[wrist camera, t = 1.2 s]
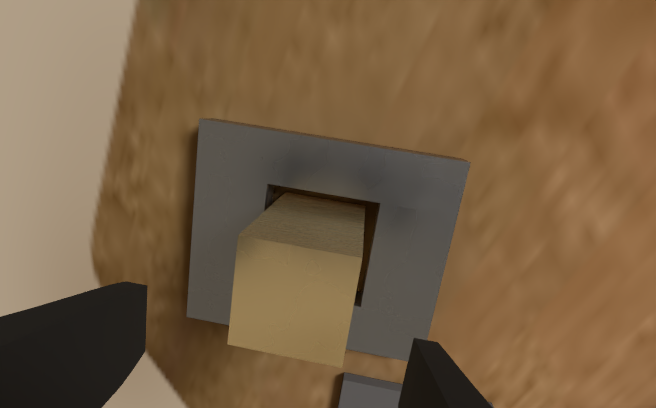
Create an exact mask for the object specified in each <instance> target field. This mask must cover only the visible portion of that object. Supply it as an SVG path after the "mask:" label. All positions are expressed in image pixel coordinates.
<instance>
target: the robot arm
mask: <svg viewBox="0 0 656 408" xmlns="http://www.w3.org/2000/svg"><path fill="white" fill-rule="evenodd" d="M146 310H147V286H146V285H141V284H136V283H131V282H121V283H116V284H112V285H108V286H105V287H101V288H97V289H94V290H91V291H87V292H84V293H81V294H77V295H74V296H71V297H68V298H64V299H61V300H57V301H54V302H51V303H48V304H44V305H41V306H38V307H34V308H31V309H27V310H24V311H20V312H16V313H13V314H9V315H6V316H2V317H0V408H102V407H103V405H104V404H105V403H106V402H107V401H108V400H109V399H110V398H111V396H112V395H113V394H114V393H115V392H116V391H117V390H118V388H119V387H120V386H121V385H122V384H123V382H124V381H125V380H126V378H127V377H128V376H129V374H130V373H131V371H132V370H133V369H134V367H135V366H136V364H137V363H138V361H139V360H140V358H141V357H142V355H143V354H144V352H145V339H146ZM398 408H493V407H492V406H491V405H490V404H489V403H488V402H487V401H486V399H485V398H484V397H483V396H482V395H481V394H480V393H479V391H478V390H477V389H476V388H475V387H474V385H473V384H472V383H471V382H470V381H469V380H468V378H467V377H466V376H465V375H464V373H463V372H462V371H461V370H460V369H459V367H458V366H457V365H456V364H455V362H454V361H453V360H452V359H451V358H450V356H449V355H448V354H447V353H446V351H445V350H444V349H443V348H442V347H441V346H440V344H439V343H438V342H433V341H428V340H423V339H418V338H414V339H413V343H412V347H411V352H410V356H409V360H408V364H407V369H406V373H405V377H404V381H403V386H402V390H401V394H400V399H399V403H398Z"/></svg>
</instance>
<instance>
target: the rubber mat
mask: <svg viewBox="0 0 656 408" xmlns="http://www.w3.org/2000/svg"><path fill="white" fill-rule="evenodd" d="M402 386H403V384H398V383H393V382H388V381H383V380H378V379H374V378H369V377H364V376H359V375H354V374H349V373H344V377H343V382H342V388H341V393H340V398H339V404H338V408H398V403H399V399H400V394H401V390H402ZM488 403H489V404H490V405H491V406H492V407H493V405H492V403H490V402H488ZM493 408H494V407H493Z"/></svg>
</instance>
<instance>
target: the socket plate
mask: <svg viewBox="0 0 656 408" xmlns="http://www.w3.org/2000/svg"><path fill="white" fill-rule="evenodd" d="M469 167H470V162H468V161H466V160H464V159H461V158H455V157H449V156H443V155H436V154H430V153H424V152H418V151H412V150H405V149H399V148H393V147H387V146H381V145H374V144H368V143H362V142H356V141H350V140H343V139H337V138H331V137H325V136H318V135H312V134H306V133H300V132H294V131H287V130H281V129H275V128H269V127H263V126H256V125H250V124H244V123H238V122H232V121H225V120H219V119H199V131H198V146H197V162H196V177H195V193H194V208H193V224H192V239H191V255H190V270H189V286H188V301H187V317H190V318H195V319H200V320H205V321H210V322H215V323H220V324H225V325H229V323H230V313H231V302H232V292H233V282H234V271H235V261H236V251H237V240H238V235H239V234H240V233H241V232H242V231H243V230H244V229H245V228H247V227H248V226H249V225H250V224H251V223H252V222H253V221H254V220H255V219H257V218H258V217H259V216H260V215H261V214H262V213H263V212H264V211H265V210H266V209H268V208H269V207H270V206H271V205H272V203H273V194H274V186H275V185H278V186H284V187H290V188H295V189H301V190H307V191H313V192H319V193H324V194H330V195H336V196H342V197H348V198H353V199H359V200H365V201H371V202H377V203H378V208H377V213H376V218H375V224H374V229H373V234H372V239H371V245H370V250H369V255H368V260H367V266H366V271H365V276H364V281H363V287H362V292H361V293H360V292H356V296H355V301H354V306H353V312H352V317H351V322H350V328H349V333H348V339H347V344H346V349H349V350H354V351H359V352H364V353H369V354H374V355H379V356H384V357H389V358H394V359H399V360H404V361H408V360H409V356H410V352H411V347H412V343H413V339H414V338H418V339H423V340H427V338H428V334H429V329H430V325H431V321H432V317H433V313H434V309H435V305H436V301H437V297H438V293H439V289H440V285H441V281H442V277H443V272H444V268H445V264H446V260H447V256H448V252H449V248H450V244H451V240H452V236H453V232H454V228H455V224H456V220H457V215H458V211H459V207H460V203H461V199H462V195H463V191H464V187H465V183H466V179H467V175H468V171H469Z"/></svg>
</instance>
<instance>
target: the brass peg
mask: <svg viewBox="0 0 656 408" xmlns="http://www.w3.org/2000/svg"><path fill="white" fill-rule="evenodd" d="M364 221H365V205H359V204H353V203H347V202H341V201H336V200H330V199H324V198H318V197H313V196H307V195H301V194H295V193H289V192H285V193H284V194H283V195H282V196H281V197H280V198H279V199H278V200H276V201H275V202H274V203H273V204H272V205H271V206H270V207H269V208H268V209H266V210H265V211H264V212H263V213H262V214H261V215H260V216H259V217H258V218H257V219H255V220H254V221H253V222H252V223H251V224H250V225H249V226H248V227H247V228H245V229H244V230H243V231H242V232H241V233H240V234H239V235H238V240H237V251H236V261H235V271H234V282H233V292H232V302H231V313H230V323H229V333H228V345H233V346H238V347H242V348H247V349H252V350H257V351H262V352H267V353H272V354H277V355H282V356H286V357H291V358H296V359H301V360H306V361H311V362H316V363H321V364H325V365H330V366H335V367H340V368H342V365H343V360H344V355H345V349H346V344H347V339H348V333H349V328H350V322H351V317H352V312H353V306H354V301H355V296H356V290H357V285H358V279H359V274H360V269H361V263H362V258H363V239H364Z"/></svg>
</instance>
